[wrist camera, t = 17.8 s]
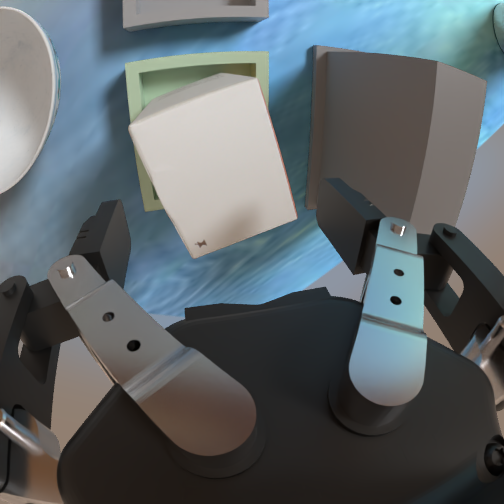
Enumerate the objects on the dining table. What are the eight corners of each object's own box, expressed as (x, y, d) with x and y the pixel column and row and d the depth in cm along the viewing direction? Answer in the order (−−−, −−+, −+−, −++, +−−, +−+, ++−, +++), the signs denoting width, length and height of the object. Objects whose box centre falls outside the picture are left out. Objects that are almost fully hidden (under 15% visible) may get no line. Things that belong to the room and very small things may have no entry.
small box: (250, 152, 27) (300, 222, 16) (185, 177, 27) (191, 264, 16) (222, 69, 22) (259, 74, 11) (150, 97, 22) (122, 128, 12)
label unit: (376, 55, 24) (495, 77, 12) (359, 201, 33) (439, 283, 22) (313, 45, 22) (425, 48, 11) (304, 206, 32) (373, 301, 21)
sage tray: (259, 52, 22) (268, 51, 20) (259, 184, 30) (267, 197, 27) (131, 63, 20) (124, 63, 18) (147, 197, 28) (145, 211, 25)
